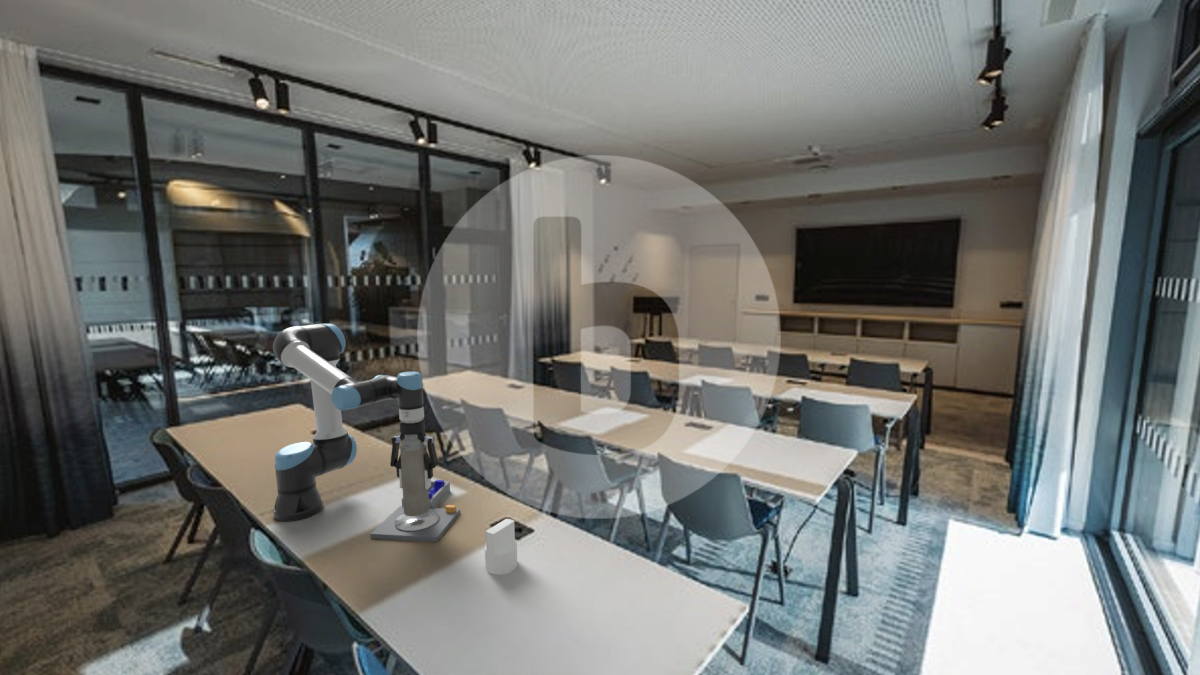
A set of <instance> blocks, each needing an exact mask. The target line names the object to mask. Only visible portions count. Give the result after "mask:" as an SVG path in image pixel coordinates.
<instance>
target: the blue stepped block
mask: <svg viewBox="0 0 1200 675" xmlns="http://www.w3.org/2000/svg"><path fill="white" fill-rule="evenodd" d="M434 481H435V486H434V487H433V488H432V489H431V490H430V491H429V499H431V498H432V497H433V495H434V494H435V493H436V492H437V491H438V490H439V489H440V488H441V487H442V486H443V485H444V482H445V480H444V479H435V480H434Z"/></svg>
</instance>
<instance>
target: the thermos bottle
mask: <svg viewBox="0 0 1200 675" xmlns="http://www.w3.org/2000/svg"><path fill="white" fill-rule="evenodd" d="M426 451H427V452H428V449H427V444H426V442H425V441H424V442H423V443H422V442H421V440H419V439H418V435H417V434H413V435H405V438H404V439H403V440H402V441H401V446H399V452H400V454H401V471H402V488H401V489H402V498H403V505H404V514H405V515H407V516H420V515H423V514H425V513H427V512H428V511H429V509H430V508H429V489H425V473H424V470H425V469H426V466H425V464H424V458H423V454H425V453H426ZM400 454H399V455H400Z"/></svg>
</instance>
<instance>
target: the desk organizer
mask: <svg viewBox="0 0 1200 675" xmlns="http://www.w3.org/2000/svg"><path fill="white" fill-rule="evenodd" d="M435 481H436V480H431V487H430V488H429V491H430V490H431V489H432V488H433V487H434V486H435ZM450 483H451V482H450V481H444V485H443V486H442V487H441V488H440V489H439V490H438V491H437V492H436V493H435V494H434V495H433V497H432V498H431V499H429V508H437V507H438V506H439V504H440V503H441V502H442V501H443V500H444V499H445V498H446V497H447V496H448V495H449V494H450V493H451V484H450ZM401 506H404V505H403V497H402V498H401Z"/></svg>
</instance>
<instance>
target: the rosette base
mask: <svg viewBox="0 0 1200 675" xmlns="http://www.w3.org/2000/svg"><path fill="white" fill-rule="evenodd" d="M456 506H457V505H456V504H447V505H446V506H445V508H443V507H441V508H440V507H439V508H438V507H435V508H430V509H429V511H428V512H427V513H425V514H423V515H420V516H407V515H405V514H404V506H402V505H400V506H399V507H397V508H396V509H395V510H394V511H393V512H392V513H391V514H390V515H388V517H386V518H385V519H384V521H382V522H381V523H380V524H379V525H378V526H377V527H375V528H374V530H373V531H371V533H369V536H370V539H379V540H395V541H396V540H397V541H413V542H427V543H429V542H431V543H432V542H433V543H438V542H439V540H440V539H441V538H442V537H443V535H445V534H446V532H447V531H448V530H449V528H450V527H451V526H452V524H453V523H454V522H455V521H456V519H457V518H458V517H459V516H460V514H461V509H460V508H459V509H458V508H457V507H456Z"/></svg>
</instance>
